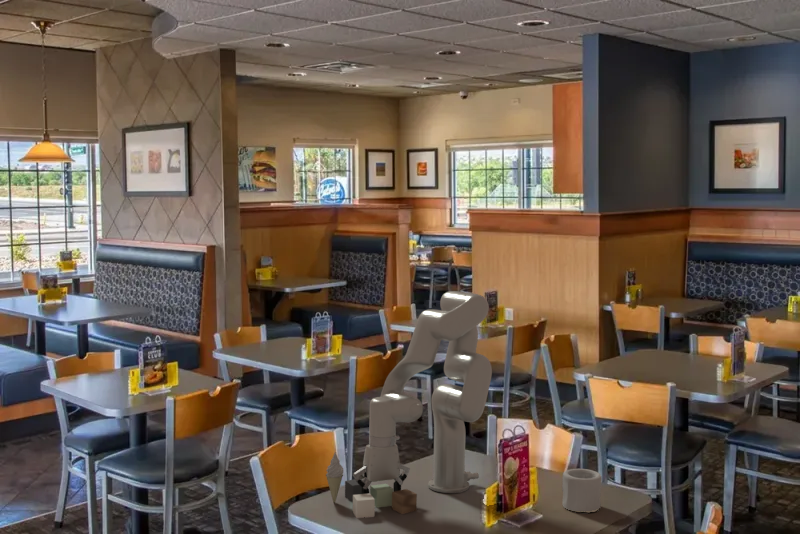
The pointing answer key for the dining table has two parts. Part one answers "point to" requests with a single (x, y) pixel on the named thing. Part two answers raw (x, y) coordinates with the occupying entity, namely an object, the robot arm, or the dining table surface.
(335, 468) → the ice cream cone
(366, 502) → the offwhite block
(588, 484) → the mug
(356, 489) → the black block
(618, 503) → the dining table surface
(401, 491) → the walnut block
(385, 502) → the sage block
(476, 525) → the dining table surface
